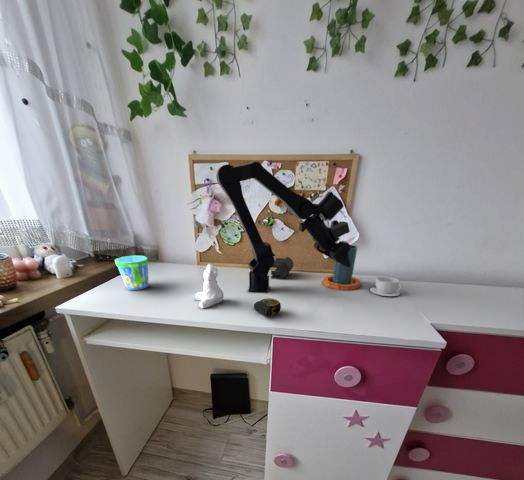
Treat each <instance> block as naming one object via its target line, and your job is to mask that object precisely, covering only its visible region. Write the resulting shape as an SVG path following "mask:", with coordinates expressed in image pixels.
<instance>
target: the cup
mask: <svg viewBox="0 0 524 480" xmlns="http://www.w3.org/2000/svg"><path fill="white" fill-rule="evenodd" d="M349 245H350V246H351V249H350V250H349V252H348V258H349V261H350V264H351V266H350V267H347V266H345V265H343V264H341V263H339V262H337V261H335V260H334V267H333V274H332V275H333V280H331V282H332V283H337V284H352V282H351V281H352V277H353V274H354V270H355V269H354V268H355V264H356V258H357V252H358V246H357V245H353V244H349Z"/></svg>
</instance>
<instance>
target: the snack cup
mask: <svg viewBox="0 0 524 480" xmlns="http://www.w3.org/2000/svg"><path fill="white" fill-rule="evenodd" d="M114 263H115V266H116V267H117V268H118V271H119V274H120V276H121V278H122V280H123V283H124V285H125V287H126V288H127V289H128V290H129V291H131V290H133V291H140V290H143V289H147V288H148V287H149V267H148V266H149V258H148V256H145V255H125V256H121V257H117V258H115V259H114Z"/></svg>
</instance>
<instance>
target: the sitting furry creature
mask: <svg viewBox="0 0 524 480" xmlns="http://www.w3.org/2000/svg"><path fill="white" fill-rule="evenodd" d="M218 272H219V269H218V267H216V266H215V265H214V264H211V263H208V264H206V269H204V270H203V279H204V282H203V285H202V286H203V290H202V291H199V292H197V293H195V294H194V295H195V300H196V301H199V308H200V309H207V308H210V307H212V306H214V305H217V304H220V303H221V302H222V301H223V299H224V296H225V295H224V292H223V289H221V287H220V285H219V283H218V281H217V279H216V278H217V277H218Z"/></svg>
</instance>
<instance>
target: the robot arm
mask: <svg viewBox="0 0 524 480" xmlns="http://www.w3.org/2000/svg"><path fill="white" fill-rule="evenodd" d="M215 177H216V181H217V184H218V185H219V187H220V188H221V190H222V191H223V192H224V194H225V195H226V196H227V198H228V199H229V201H230V202H231V204H232V206H233V209H234V211H235V213H236V215H237V217H238V219H239V222H240V224H241V226H242V228H243V230H244V232H245V234H246V237H247V238H248V242H249V243H250V247H251V251H252V255H253V258H252V259H251V260H250V261H249V263H248V264H247V265H248V268H249V270H250V271H249V272H248V274H249V275H248V276H249V277H248V282H249V283H248V284H249V285H248V292H250V293H251V292H253V293H267V292H268V290H269V289H270V275H269V272H270V271H271V269H272V268H273V267H272V266H273V265H274V262H275V257H276V254H275V253H274V252H273V249H272V244H270V243H269V242H268V241H263V239H262V237H261V235H260V234H261V233H260V232H259V230H258V227H257V225H256V222H255V220H254V218H253V216H252V214H251V212H250V209H249V207H248V205H247V202H246V200H245V198H244V194H243V189H242V184H241V182H245V181H248V180H251V179H253V180H254V181H256V182H257V183H258V184H260V185H261V186H262V187H263V188H265V189H266V190H267V191H268V192H270V193H271V194H272V195H273V196H275V197H276V198H277V199H278V200H280V202H282V203H283V205H284V206H285V207H286V209H287V210H288V211H289V212H290V214H291V215H292V216H293V217H294V218H297V219H299V220H303V221H300V222H299V223H298V224H299V225H298V231H299V232H302V233H304V232H305V231H307V232H308V234H309V235H310V236H311V238H312V241H314V243H313V248H314V249H315V250H316V251H317V252H318V253H319V254H322V255H324V256H326V257H328V258H329V259H332V260H333V261H334V262H335V261H337V262H339V263H341V264H343V265H345V266H347V267H350V266H351V264H350V261H349V258H348V252H349V250H350V249H351V246H350V245H351V244H350V243H349V242H347V241H345V240H340V237H342V236H344V235H346V234H349V233H350V227H349V222H347V221H343V220H342V221H338V220H336V219H334V218H335V217H336V216H337V214H339V213H340V211H342V209H343V208H344V203H343V201H342V200H341V199H340V198H339V197H338V196H336V194H334V193H333V192H332V191H328V192H327V193H326V194H325V196H324V197H323V198H322V199H321V200H320V202H318V203H313V202H312V201H311V200H310V199H308V198H307V197H305V196H303V195H301V194H299V193H297V192H295V191H292V190H291V189H290V188H289V187H288V186H286V185H285V184H284V183H283V182H282V181H281V180H279V179H278V178H277V177H275V176H274V174H272V173H271V172H270V171H269V170H267V168H265V167H264V166H263V165H262V163H261V162H259V161H252V162H251V163H248V164H242V165H240V166H233V165H231V164H224V165H221V166H220V167H219V168H218V169H217V171H216V175H215ZM333 219H334V220H333ZM327 221H331V222H330V226H328V225H327V224H326V223H325V222H327Z"/></svg>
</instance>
